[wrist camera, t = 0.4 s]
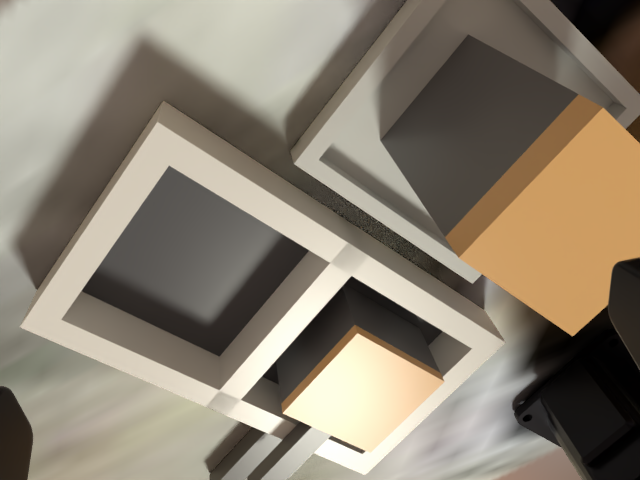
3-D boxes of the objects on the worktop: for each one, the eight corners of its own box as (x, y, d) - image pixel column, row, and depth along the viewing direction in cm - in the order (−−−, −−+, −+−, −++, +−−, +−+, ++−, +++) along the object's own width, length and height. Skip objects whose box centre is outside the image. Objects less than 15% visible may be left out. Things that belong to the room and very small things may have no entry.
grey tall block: (552, 112, 21) (709, 212, 15) (466, 204, 23) (572, 336, 16) (468, 34, 20) (603, 107, 13) (380, 140, 21) (458, 258, 14)
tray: (629, 94, 22) (649, 104, 21) (461, 267, 25) (472, 284, 24) (465, -75, 18) (479, -73, 17) (290, 151, 21) (293, 163, 20)
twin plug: (418, 325, 26) (444, 381, 23) (256, 491, 30) (260, 558, 27) (340, 279, 24) (357, 333, 21) (178, 462, 28) (173, 530, 25)
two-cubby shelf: (484, 310, 26) (505, 342, 24) (355, 437, 29) (364, 475, 27) (163, 100, 20) (157, 121, 18) (36, 290, 22) (19, 327, 20)
